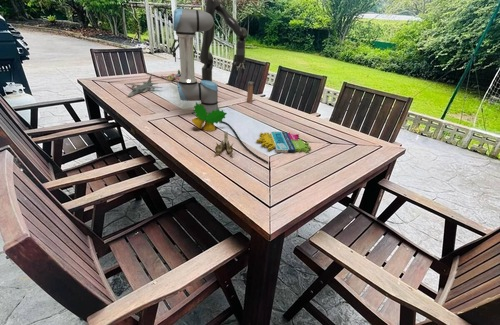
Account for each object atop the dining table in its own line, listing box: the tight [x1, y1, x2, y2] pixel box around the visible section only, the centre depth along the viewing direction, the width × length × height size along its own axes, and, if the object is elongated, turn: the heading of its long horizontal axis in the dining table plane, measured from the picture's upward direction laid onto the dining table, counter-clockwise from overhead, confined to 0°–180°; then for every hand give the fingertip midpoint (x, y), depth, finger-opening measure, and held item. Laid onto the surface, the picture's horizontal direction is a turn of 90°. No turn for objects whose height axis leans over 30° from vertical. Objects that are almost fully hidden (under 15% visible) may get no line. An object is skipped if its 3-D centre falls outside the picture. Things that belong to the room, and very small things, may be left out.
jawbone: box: [214, 131, 234, 156], centre depth 136 cm, size 9×15×10 cm
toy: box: [160, 69, 181, 82], centre depth 279 cm, size 28×7×30 cm
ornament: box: [191, 101, 228, 132], centre depth 162 cm, size 21×8×15 cm, turn 105°
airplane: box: [126, 75, 163, 98], centre depth 227 cm, size 38×31×10 cm
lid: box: [246, 81, 255, 87], centre depth 215 cm, size 5×5×2 cm
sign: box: [256, 131, 312, 154], centre depth 152 cm, size 26×2×30 cm
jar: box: [246, 85, 254, 104], centre depth 218 cm, size 5×5×16 cm
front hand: (184, 61), depth 211 cm, fingers open, 13 cm apart
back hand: (239, 74), depth 228 cm, fingers open, 8 cm apart
